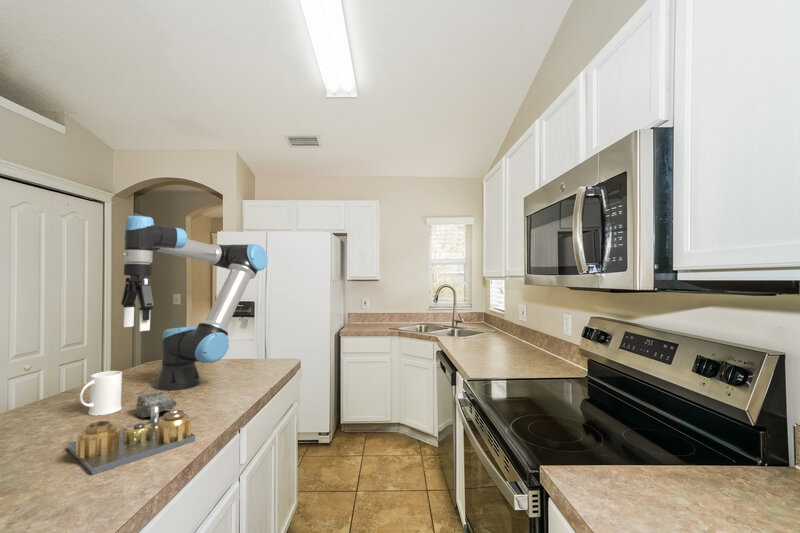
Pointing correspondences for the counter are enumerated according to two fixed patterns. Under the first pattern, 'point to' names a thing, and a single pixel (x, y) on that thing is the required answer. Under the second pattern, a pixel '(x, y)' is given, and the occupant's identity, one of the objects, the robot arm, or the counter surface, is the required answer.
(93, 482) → the counter surface
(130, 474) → the counter surface
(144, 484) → the counter surface
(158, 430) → the carrier
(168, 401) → the rock
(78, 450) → the gear
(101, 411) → the mug
